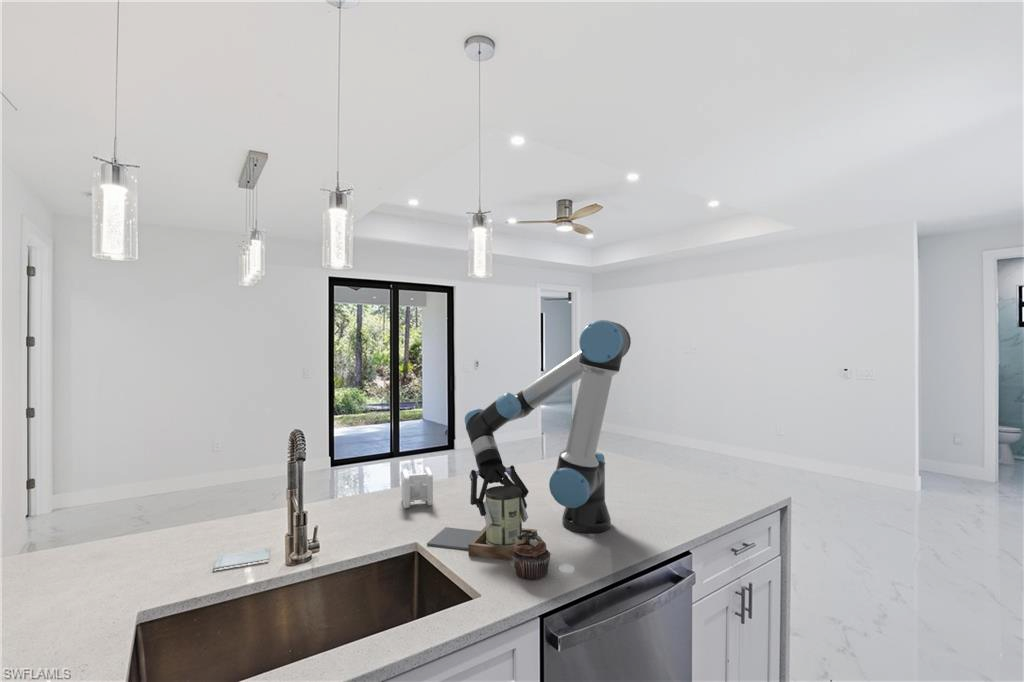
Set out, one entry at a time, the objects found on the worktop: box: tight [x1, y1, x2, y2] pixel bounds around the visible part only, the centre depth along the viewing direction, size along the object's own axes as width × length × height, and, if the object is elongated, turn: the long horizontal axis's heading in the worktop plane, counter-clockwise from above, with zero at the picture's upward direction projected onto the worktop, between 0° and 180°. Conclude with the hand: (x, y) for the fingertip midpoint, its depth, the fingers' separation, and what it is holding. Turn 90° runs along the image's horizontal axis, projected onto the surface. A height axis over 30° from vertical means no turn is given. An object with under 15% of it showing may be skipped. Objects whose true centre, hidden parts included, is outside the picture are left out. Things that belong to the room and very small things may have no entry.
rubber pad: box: [426, 526, 481, 551], centre depth 142 cm, size 13×13×1 cm
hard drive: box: [213, 547, 271, 571], centre depth 127 cm, size 2×8×12 cm
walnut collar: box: [467, 525, 538, 562], centre depth 136 cm, size 15×15×3 cm
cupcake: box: [512, 530, 551, 581], centre depth 120 cm, size 10×10×10 cm
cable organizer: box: [400, 466, 434, 509], centre depth 175 cm, size 15×11×12 cm
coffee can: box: [485, 485, 523, 548], centre depth 136 cm, size 10×10×14 cm
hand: (508, 522), depth 133 cm, fingers closed on coffee can, 10 cm apart
